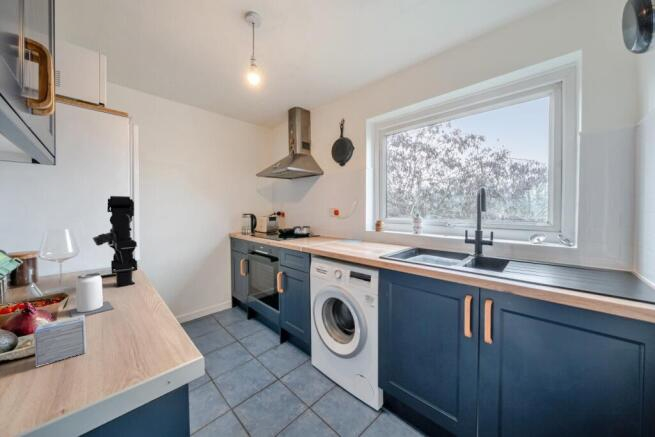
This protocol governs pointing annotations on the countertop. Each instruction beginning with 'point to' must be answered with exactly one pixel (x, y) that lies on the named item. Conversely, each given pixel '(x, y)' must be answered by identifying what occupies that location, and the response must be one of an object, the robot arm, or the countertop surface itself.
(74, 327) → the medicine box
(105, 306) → the mat
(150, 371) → the countertop surface
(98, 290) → the can
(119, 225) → the robot arm
